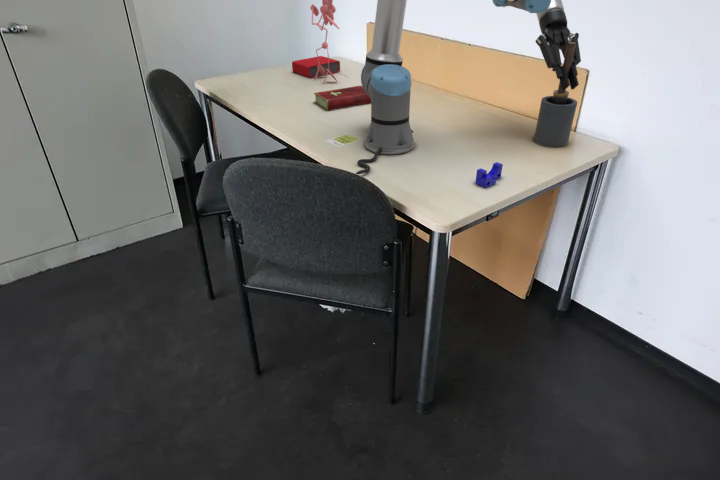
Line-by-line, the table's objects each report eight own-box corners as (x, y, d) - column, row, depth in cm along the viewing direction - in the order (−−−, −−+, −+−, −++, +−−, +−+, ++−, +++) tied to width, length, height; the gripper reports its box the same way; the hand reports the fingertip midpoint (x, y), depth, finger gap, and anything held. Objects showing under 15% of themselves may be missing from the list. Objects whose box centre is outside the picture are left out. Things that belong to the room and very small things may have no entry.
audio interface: (322, 66, 240) (322, 55, 237) (340, 71, 230) (339, 60, 228) (292, 72, 230) (291, 61, 228) (309, 78, 221) (308, 66, 218)
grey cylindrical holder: (568, 148, 148) (578, 107, 141) (533, 145, 151) (541, 104, 144) (566, 137, 156) (576, 97, 149) (534, 134, 159) (541, 94, 152)
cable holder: (485, 188, 127) (487, 174, 125) (475, 183, 129) (477, 169, 127) (505, 179, 131) (507, 166, 129) (494, 175, 133) (496, 162, 131)
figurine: (330, 88, 207) (326, -2, 188) (306, 75, 226) (300, -9, 207) (361, 83, 213) (360, -5, 194) (335, 70, 232) (332, -11, 213)
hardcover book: (375, 102, 189) (375, 91, 187) (327, 111, 181) (326, 100, 179) (361, 95, 198) (361, 84, 196) (314, 102, 190) (313, 92, 188)
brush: (563, 120, 147) (580, 44, 135) (548, 119, 148) (563, 43, 136) (563, 116, 151) (579, 41, 139) (548, 114, 152) (563, 40, 140)
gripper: (567, 23, 150) (586, 92, 146) (522, 26, 148) (540, 95, 143) (581, 7, 143) (601, 78, 138) (534, 9, 140) (553, 82, 136)
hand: (570, 87), depth 141 cm, fingers closed on brush, 2 cm apart
